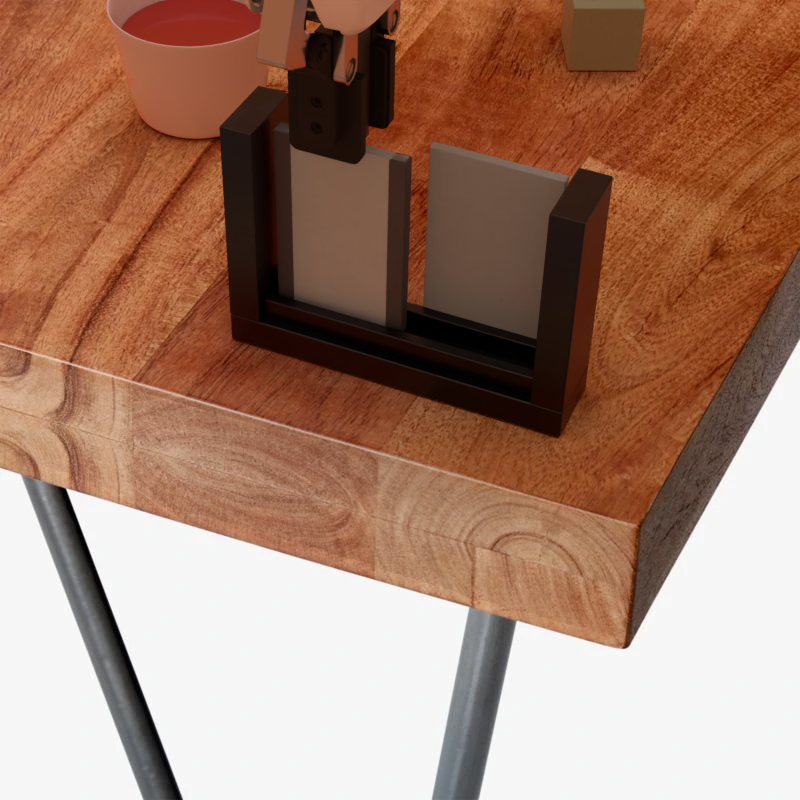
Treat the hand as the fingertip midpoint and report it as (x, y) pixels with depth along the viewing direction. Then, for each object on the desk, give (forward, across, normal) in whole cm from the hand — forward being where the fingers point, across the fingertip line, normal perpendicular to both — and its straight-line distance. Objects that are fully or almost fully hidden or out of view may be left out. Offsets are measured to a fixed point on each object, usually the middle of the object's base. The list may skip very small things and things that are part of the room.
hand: (342, 133), depth 69 cm
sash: (+10, 0, 0) cm, 10 cm away
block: (+11, +30, -2) cm, 32 cm away
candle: (+12, +15, +16) cm, 25 cm away
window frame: (+11, 0, -3) cm, 12 cm away
